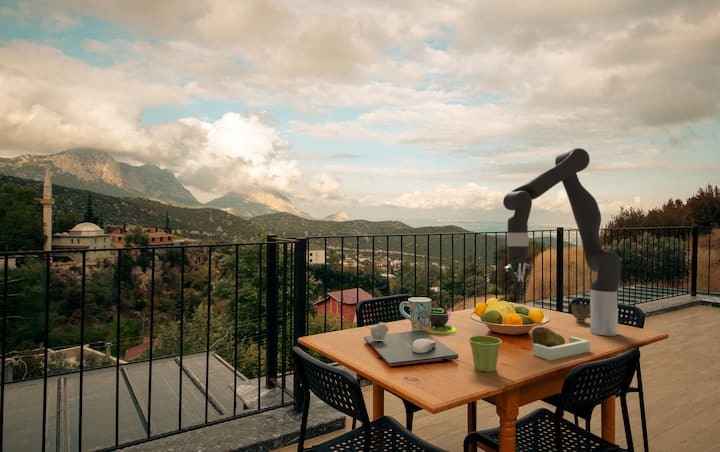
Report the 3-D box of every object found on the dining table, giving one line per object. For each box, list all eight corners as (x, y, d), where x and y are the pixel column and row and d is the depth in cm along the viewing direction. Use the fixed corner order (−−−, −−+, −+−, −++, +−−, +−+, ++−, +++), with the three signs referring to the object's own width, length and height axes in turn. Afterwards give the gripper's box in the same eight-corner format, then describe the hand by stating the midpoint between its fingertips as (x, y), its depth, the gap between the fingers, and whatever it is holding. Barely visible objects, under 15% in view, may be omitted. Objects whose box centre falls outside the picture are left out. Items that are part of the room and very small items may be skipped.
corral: (571, 346, 144) (571, 336, 144) (589, 351, 138) (589, 341, 138) (532, 354, 134) (532, 344, 134) (550, 360, 129) (550, 349, 129)
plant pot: (483, 376, 114) (483, 345, 114) (462, 365, 123) (462, 337, 123) (508, 371, 118) (508, 342, 118) (486, 362, 127) (486, 334, 127)
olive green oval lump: (574, 353, 136) (574, 329, 137) (538, 354, 135) (538, 330, 135) (559, 345, 145) (559, 323, 145) (525, 346, 143) (525, 324, 143)
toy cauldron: (462, 328, 169) (463, 302, 169) (445, 335, 158) (445, 307, 158) (431, 322, 179) (431, 297, 179) (412, 329, 168) (412, 302, 168)
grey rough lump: (386, 344, 145) (386, 325, 145) (367, 342, 147) (367, 323, 147) (390, 340, 150) (390, 321, 150) (372, 338, 153) (372, 320, 153)
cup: (574, 323, 178) (574, 305, 178) (568, 320, 185) (569, 302, 186) (593, 324, 177) (593, 306, 177) (586, 320, 184) (586, 303, 184)
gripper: (521, 244, 159) (521, 288, 159) (497, 245, 152) (497, 291, 152) (538, 244, 152) (538, 290, 152) (513, 245, 146) (514, 294, 146)
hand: (518, 291), depth 152 cm, fingers closed
